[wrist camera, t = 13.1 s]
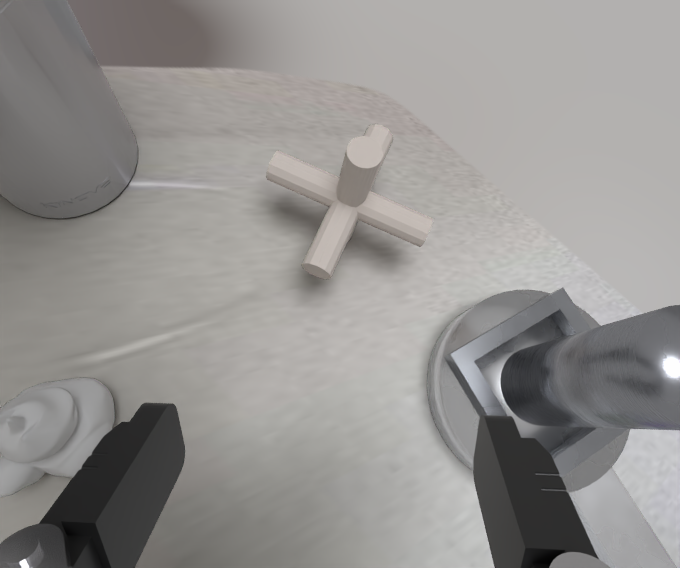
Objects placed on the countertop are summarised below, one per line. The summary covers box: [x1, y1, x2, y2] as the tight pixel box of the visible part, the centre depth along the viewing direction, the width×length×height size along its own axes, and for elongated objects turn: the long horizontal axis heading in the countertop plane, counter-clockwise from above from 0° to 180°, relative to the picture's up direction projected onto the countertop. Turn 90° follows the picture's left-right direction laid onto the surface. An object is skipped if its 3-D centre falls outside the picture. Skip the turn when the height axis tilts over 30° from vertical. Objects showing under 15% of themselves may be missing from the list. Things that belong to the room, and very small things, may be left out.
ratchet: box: [427, 288, 677, 568], centre depth 27 cm, size 27×12×4 cm, turn 30°
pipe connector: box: [266, 124, 434, 279], centre depth 27 cm, size 10×10×10 cm
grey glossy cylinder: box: [501, 305, 680, 430], centre depth 22 cm, size 5×5×11 cm
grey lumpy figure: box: [0, 377, 115, 496], centre depth 22 cm, size 5×7×8 cm
